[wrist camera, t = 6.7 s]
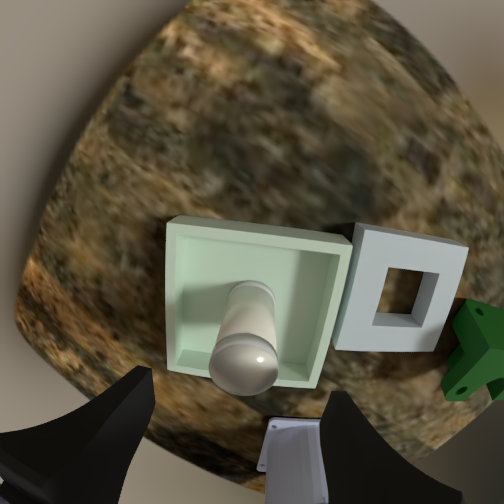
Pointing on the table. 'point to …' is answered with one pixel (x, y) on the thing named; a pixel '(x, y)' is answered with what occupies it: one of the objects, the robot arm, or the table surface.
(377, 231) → the grey square frame
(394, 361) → the table surface
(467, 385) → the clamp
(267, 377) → the cylinder
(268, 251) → the parts tray
